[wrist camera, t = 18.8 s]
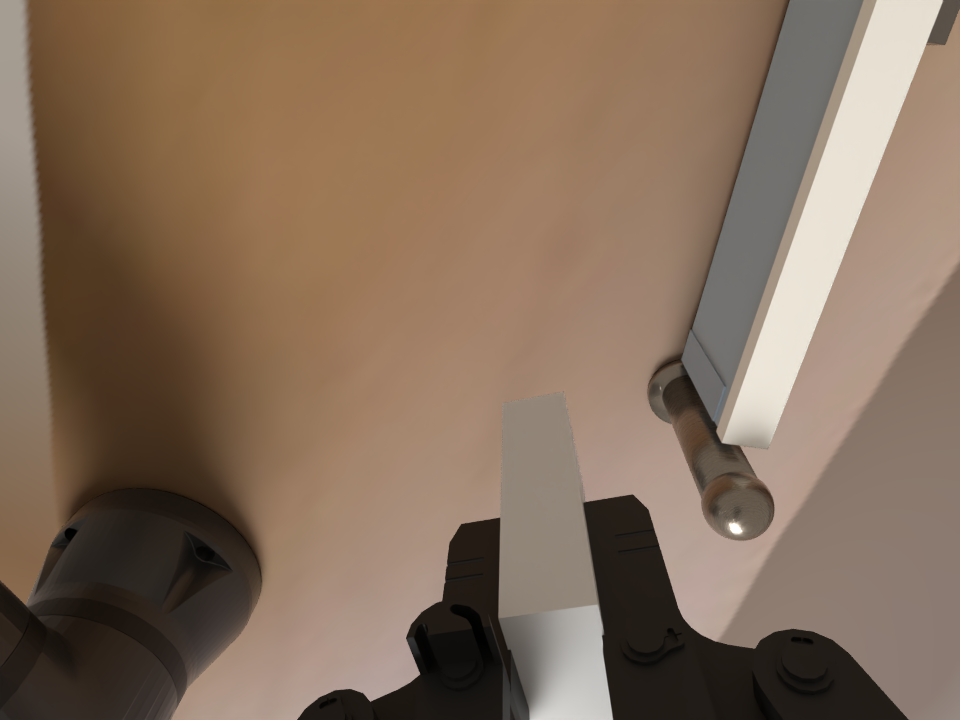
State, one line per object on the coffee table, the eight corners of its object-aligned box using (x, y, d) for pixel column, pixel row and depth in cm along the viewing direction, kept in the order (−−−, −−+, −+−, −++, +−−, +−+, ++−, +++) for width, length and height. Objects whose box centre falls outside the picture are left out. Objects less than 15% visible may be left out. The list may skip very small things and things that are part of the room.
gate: (715, 364, 38) (767, 449, 30) (679, 359, 38) (721, 442, 30) (853, -58, 29) (982, -99, 21) (804, -65, 29) (914, -109, 21)
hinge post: (640, 415, 41) (686, 558, 30) (656, 354, 39) (713, 482, 28) (707, 424, 41) (780, 571, 30) (727, 364, 39) (813, 495, 28)
